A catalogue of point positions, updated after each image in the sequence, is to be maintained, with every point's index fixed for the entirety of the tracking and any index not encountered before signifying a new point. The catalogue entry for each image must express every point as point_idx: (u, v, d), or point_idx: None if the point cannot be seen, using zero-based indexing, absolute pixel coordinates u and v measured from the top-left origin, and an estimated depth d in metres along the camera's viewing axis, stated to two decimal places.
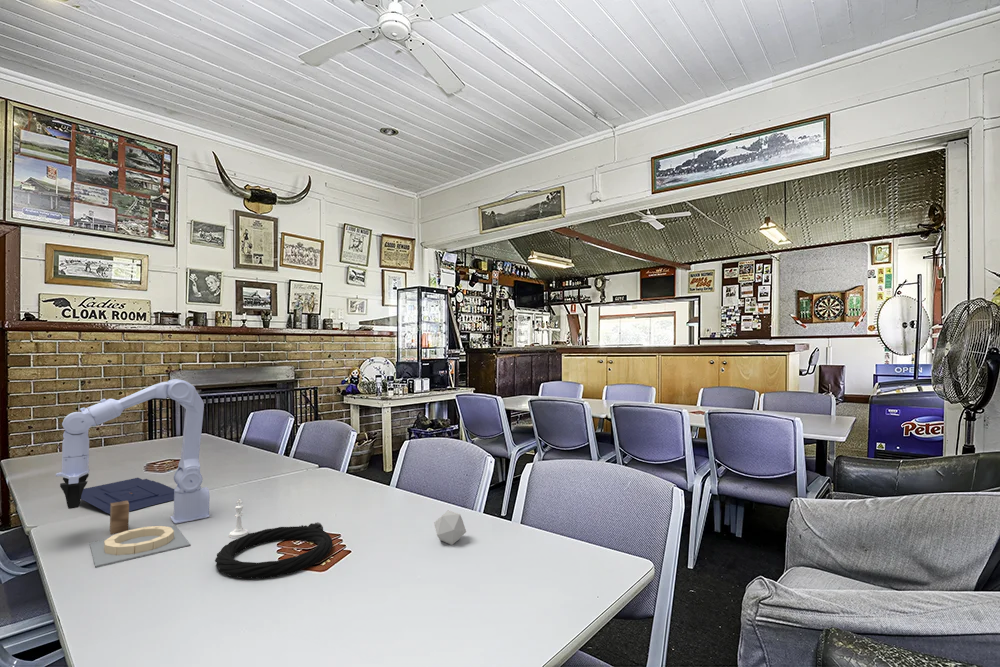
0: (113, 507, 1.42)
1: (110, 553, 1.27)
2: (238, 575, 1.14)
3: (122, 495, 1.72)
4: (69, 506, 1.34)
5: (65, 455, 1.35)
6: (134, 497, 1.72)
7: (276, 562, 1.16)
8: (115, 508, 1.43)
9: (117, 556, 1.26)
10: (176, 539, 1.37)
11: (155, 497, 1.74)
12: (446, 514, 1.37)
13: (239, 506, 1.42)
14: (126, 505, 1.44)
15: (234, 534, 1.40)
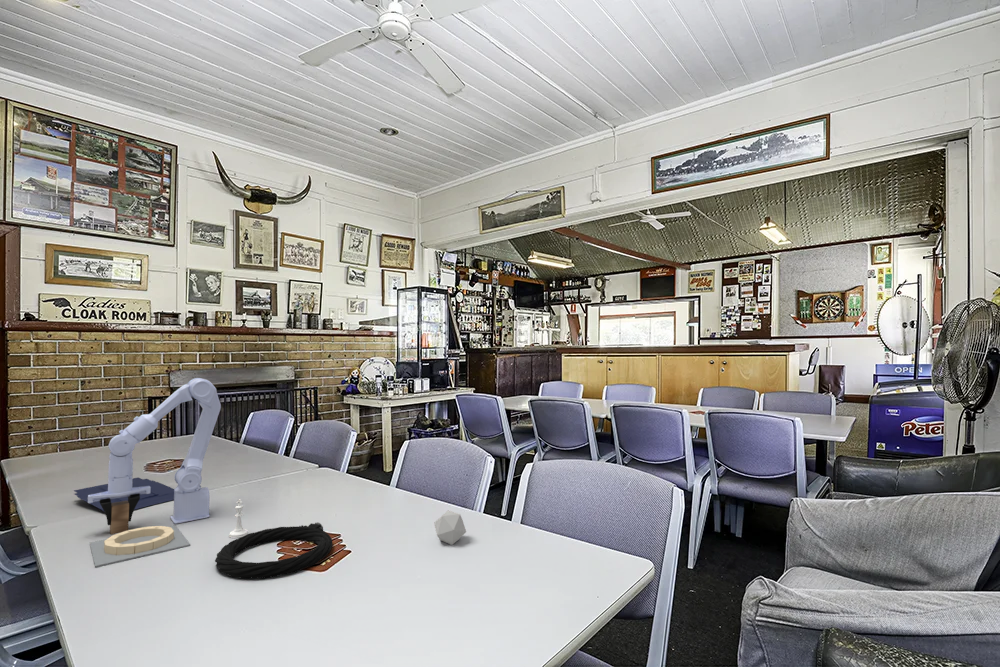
0: (113, 507, 1.42)
1: (110, 553, 1.27)
2: (238, 575, 1.14)
3: None
4: (107, 521, 1.44)
5: (111, 476, 1.42)
6: None
7: (276, 562, 1.16)
8: (115, 508, 1.43)
9: (117, 556, 1.26)
10: (176, 539, 1.37)
11: (155, 497, 1.74)
12: (446, 514, 1.37)
13: (239, 506, 1.42)
14: (126, 505, 1.44)
15: (234, 534, 1.40)
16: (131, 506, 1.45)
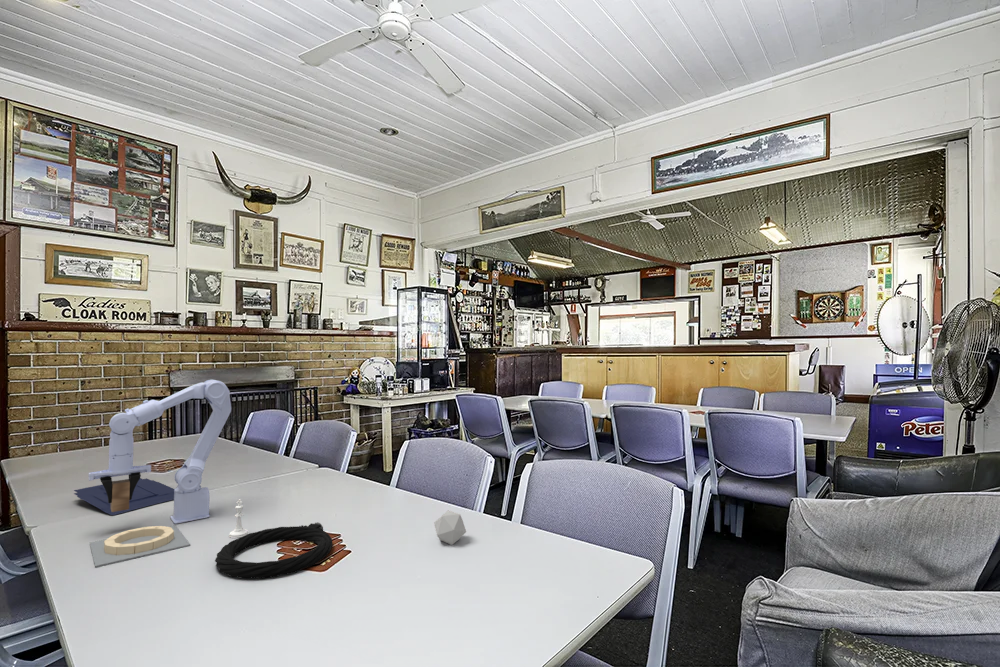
0: (114, 485, 1.43)
1: (110, 553, 1.27)
2: (238, 575, 1.14)
3: None
4: (108, 499, 1.44)
5: (112, 454, 1.43)
6: (134, 497, 1.72)
7: (276, 562, 1.16)
8: (116, 486, 1.43)
9: (117, 556, 1.26)
10: (176, 539, 1.37)
11: (154, 497, 1.74)
12: (446, 514, 1.37)
13: (239, 506, 1.42)
14: (127, 483, 1.45)
15: (234, 534, 1.40)
16: (132, 484, 1.46)
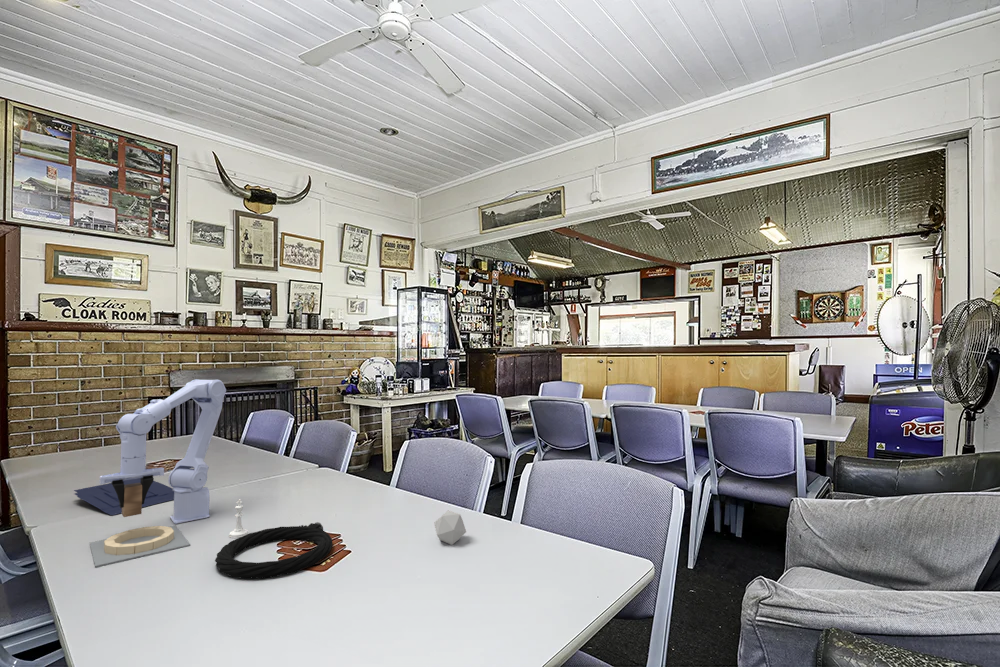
0: (126, 489, 1.36)
1: (110, 553, 1.27)
2: (238, 575, 1.14)
3: None
4: (119, 504, 1.37)
5: (130, 456, 1.37)
6: None
7: (276, 562, 1.16)
8: (128, 490, 1.37)
9: (117, 556, 1.26)
10: (176, 539, 1.37)
11: (154, 497, 1.74)
12: (446, 514, 1.37)
13: (239, 506, 1.42)
14: (139, 487, 1.38)
15: (234, 534, 1.40)
16: (144, 488, 1.39)
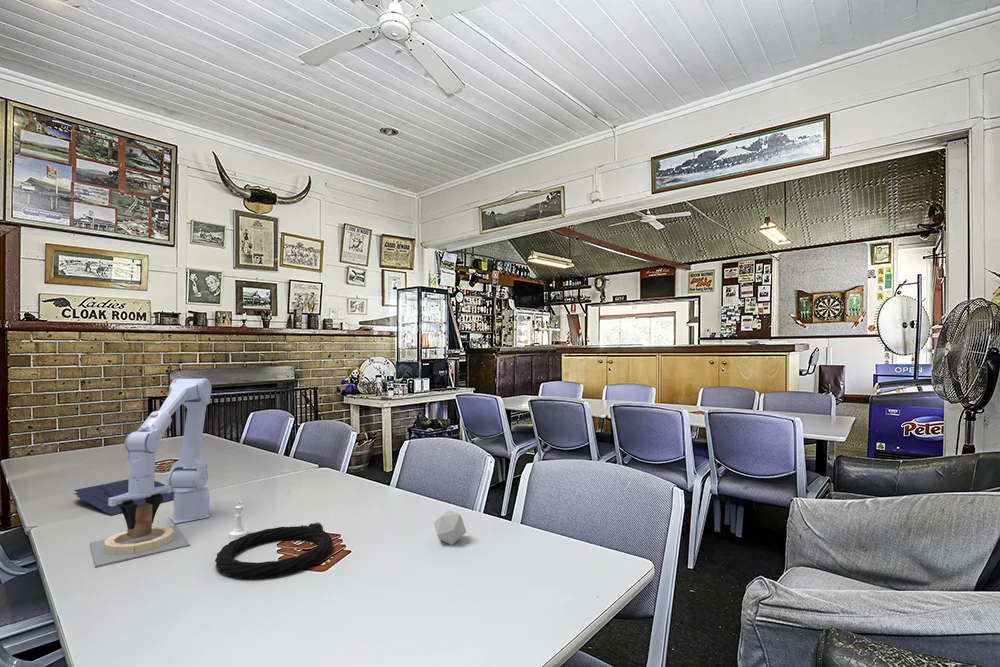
0: (137, 509, 1.32)
1: (110, 553, 1.27)
2: (238, 575, 1.14)
3: None
4: (127, 525, 1.32)
5: (143, 475, 1.33)
6: None
7: (276, 562, 1.16)
8: (139, 510, 1.33)
9: (117, 556, 1.26)
10: (176, 539, 1.37)
11: None
12: (446, 514, 1.37)
13: (239, 506, 1.42)
14: (149, 506, 1.35)
15: (234, 534, 1.40)
16: (154, 507, 1.36)
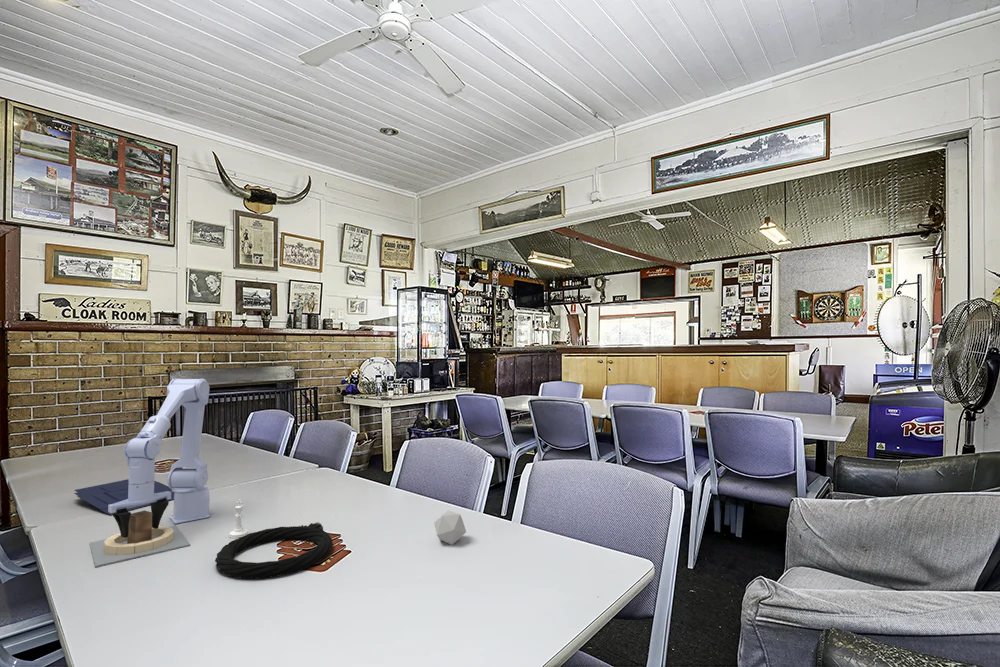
0: (137, 517, 1.32)
1: (110, 553, 1.27)
2: (238, 575, 1.14)
3: (121, 494, 1.73)
4: (121, 534, 1.31)
5: (142, 481, 1.33)
6: None
7: (276, 562, 1.16)
8: (139, 518, 1.33)
9: (117, 556, 1.26)
10: (176, 539, 1.37)
11: None
12: (446, 514, 1.37)
13: (239, 506, 1.42)
14: (149, 514, 1.35)
15: (234, 534, 1.40)
16: (160, 512, 1.37)
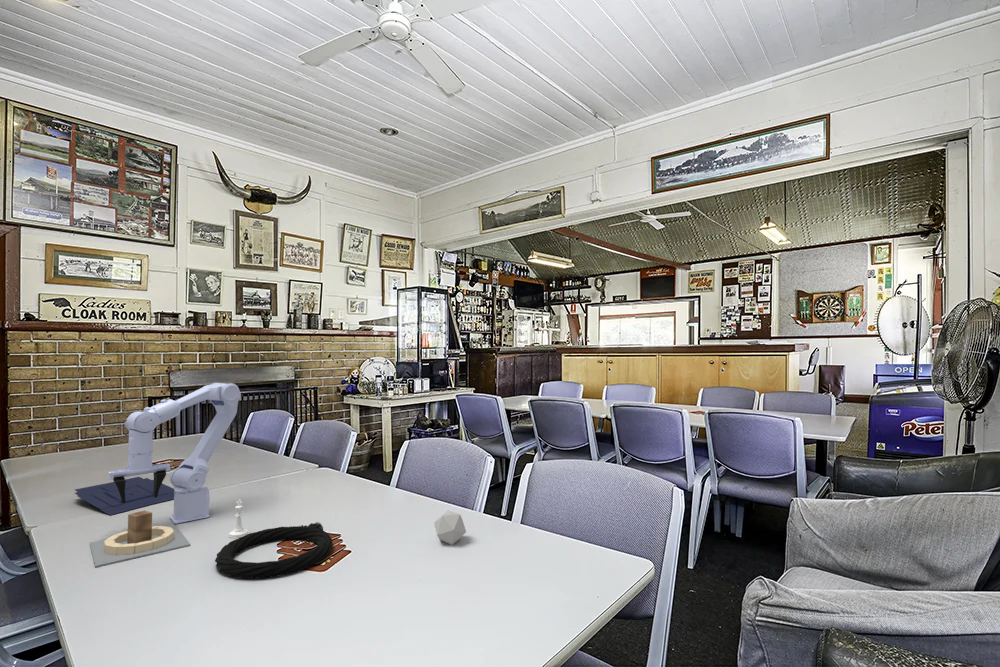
0: (137, 517, 1.32)
1: (110, 553, 1.27)
2: (238, 575, 1.14)
3: None
4: (121, 499, 1.42)
5: (135, 452, 1.42)
6: (133, 496, 1.72)
7: (276, 562, 1.16)
8: (139, 518, 1.33)
9: (117, 556, 1.26)
10: (176, 539, 1.37)
11: None
12: (446, 514, 1.37)
13: (239, 506, 1.42)
14: (149, 514, 1.35)
15: (234, 534, 1.40)
16: (158, 482, 1.46)
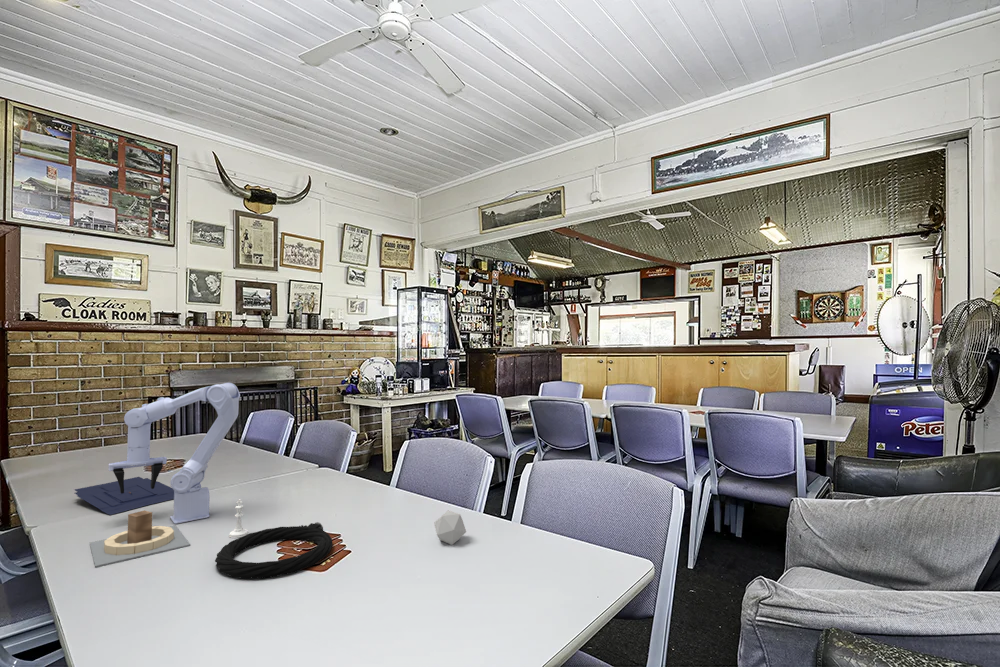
0: (137, 517, 1.32)
1: (110, 553, 1.27)
2: (238, 575, 1.14)
3: (121, 494, 1.73)
4: (120, 490, 1.51)
5: (127, 445, 1.52)
6: (132, 496, 1.73)
7: (276, 562, 1.16)
8: (139, 518, 1.33)
9: (117, 556, 1.26)
10: (176, 539, 1.37)
11: (153, 496, 1.75)
12: (446, 514, 1.37)
13: (239, 506, 1.42)
14: (149, 514, 1.35)
15: (234, 534, 1.40)
16: (154, 474, 1.55)
